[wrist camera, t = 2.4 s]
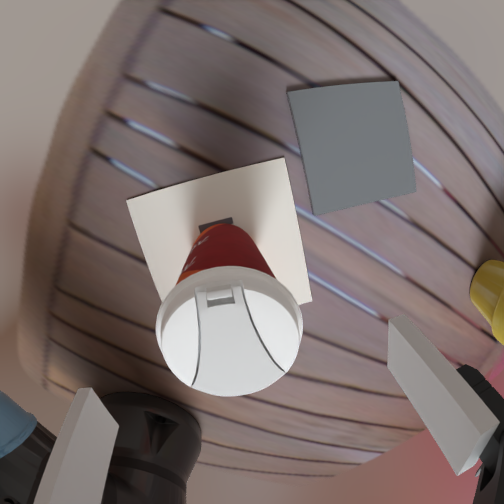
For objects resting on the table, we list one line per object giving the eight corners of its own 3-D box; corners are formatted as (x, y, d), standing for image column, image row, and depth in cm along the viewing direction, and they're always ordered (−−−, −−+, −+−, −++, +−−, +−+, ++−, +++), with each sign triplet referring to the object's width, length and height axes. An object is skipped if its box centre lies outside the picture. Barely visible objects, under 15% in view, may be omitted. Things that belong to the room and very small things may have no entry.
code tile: (175, 334, 30) (175, 335, 30) (126, 200, 25) (126, 200, 25) (311, 300, 30) (312, 301, 30) (283, 157, 26) (284, 157, 25)
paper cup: (172, 219, 26) (131, 291, 13) (261, 204, 27) (304, 263, 13) (190, 299, 29) (176, 411, 16) (271, 286, 29) (311, 391, 16)
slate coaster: (312, 214, 28) (314, 215, 27) (286, 93, 24) (287, 91, 23) (413, 190, 28) (416, 191, 27) (394, 82, 24) (397, 81, 23)
